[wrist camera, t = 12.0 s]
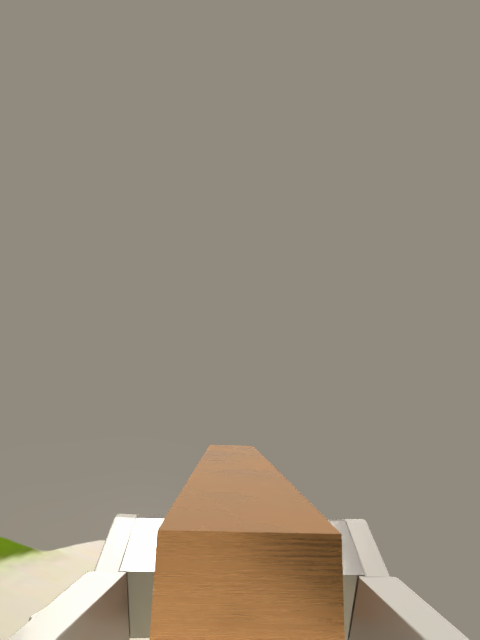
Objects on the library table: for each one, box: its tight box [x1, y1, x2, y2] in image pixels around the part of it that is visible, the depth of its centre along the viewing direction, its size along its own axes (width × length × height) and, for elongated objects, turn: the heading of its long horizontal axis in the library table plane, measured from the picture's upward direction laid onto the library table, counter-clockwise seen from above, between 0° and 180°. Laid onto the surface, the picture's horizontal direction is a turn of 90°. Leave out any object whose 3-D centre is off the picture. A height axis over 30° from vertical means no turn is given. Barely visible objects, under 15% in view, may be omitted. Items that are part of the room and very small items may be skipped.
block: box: [150, 445, 345, 640], centre depth 17 cm, size 22×3×3 cm, turn 2°
